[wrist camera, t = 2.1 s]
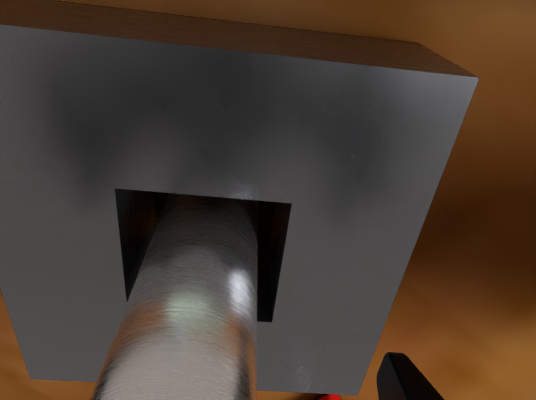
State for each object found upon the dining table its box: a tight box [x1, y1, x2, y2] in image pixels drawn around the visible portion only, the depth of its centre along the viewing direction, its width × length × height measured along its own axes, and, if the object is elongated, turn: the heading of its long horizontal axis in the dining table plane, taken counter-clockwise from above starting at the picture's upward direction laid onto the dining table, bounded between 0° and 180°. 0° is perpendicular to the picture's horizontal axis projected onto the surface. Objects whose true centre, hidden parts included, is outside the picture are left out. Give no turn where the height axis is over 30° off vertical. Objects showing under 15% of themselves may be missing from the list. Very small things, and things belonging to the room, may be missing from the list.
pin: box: [90, 193, 258, 400], centre depth 10 cm, size 3×3×12 cm
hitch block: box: [0, 0, 479, 395], centre depth 13 cm, size 12×12×4 cm
